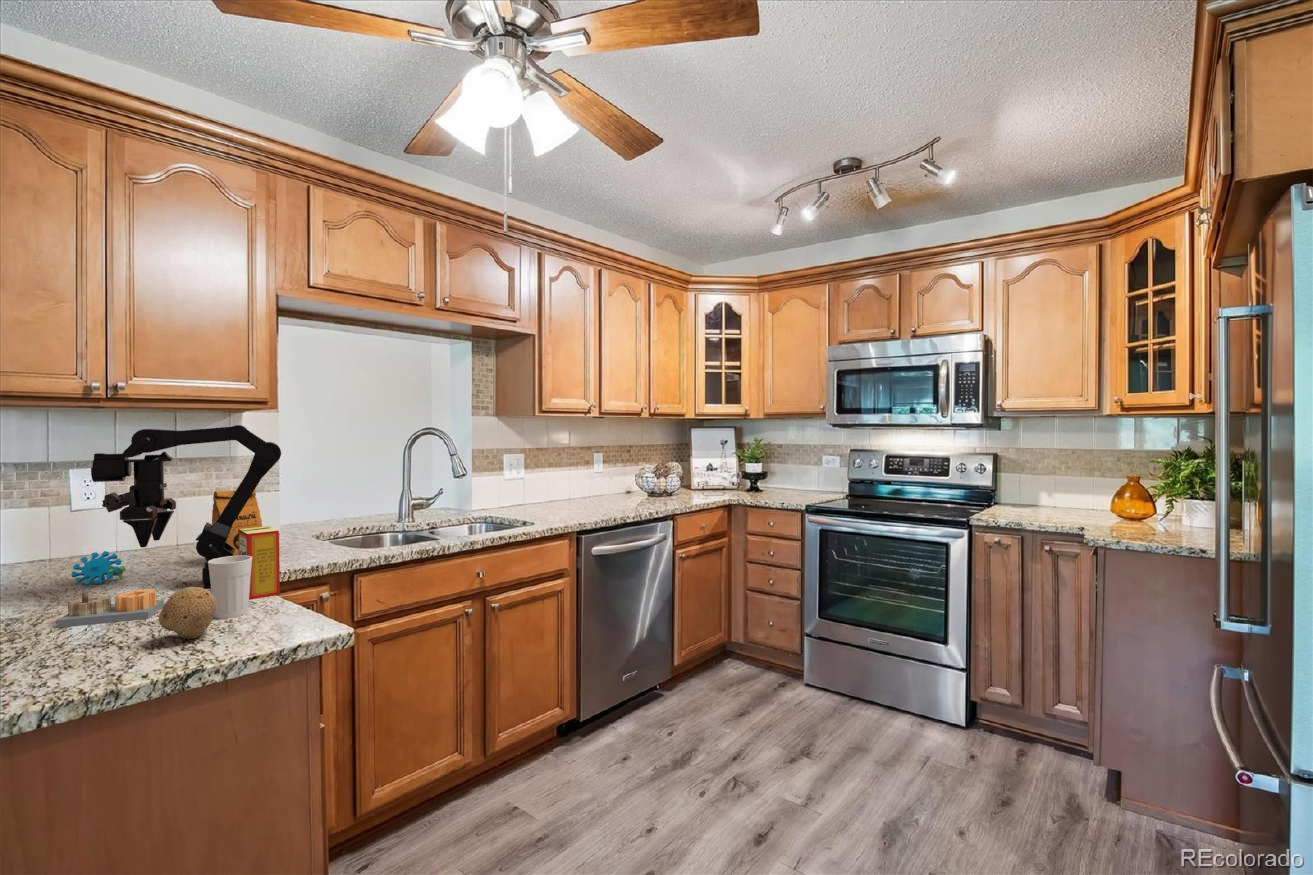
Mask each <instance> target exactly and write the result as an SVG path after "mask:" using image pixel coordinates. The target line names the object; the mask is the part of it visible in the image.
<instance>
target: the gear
mask: <svg viewBox="0 0 1313 875" xmlns="http://www.w3.org/2000/svg"><path fill="white" fill-rule="evenodd" d="M90 555H91V558H90V560H89V559H88V557H87V556H83V557H81V558H80V559H79V560H80V562H81V563H83V566H80V564H79V563H75V564H74V565H73V566H72V569H73V570H74V571H72V572H71V573H70V575H71V577H72V578H74V580H75V582H76V583H77V584H80V583H82V582H83V585H84V586H87V587H88V586H91V585H92V583H93V581H94V583H95V584H96V585H102V584H103V581H104V580H106V579H107V580H111V579H113V578H114V577H119V579H120V580H124V575H123V573H124V572H126V571H127V568H126V566H125V565H121V564H122V559H120V558H118V555H117V554H116V553H112V554H110V552H109V551H106V550H103V551H102V553H101V555H100V556H99V553H98V552H97V551H96V552H91V553H90ZM113 565H116V566H113ZM120 565H121V566H120ZM77 570H78V571H79V572H78V571H77ZM81 576H82V577H81Z"/></svg>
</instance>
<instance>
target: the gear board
mask: <svg viewBox="0 0 1313 875" xmlns="http://www.w3.org/2000/svg"><path fill="white" fill-rule="evenodd" d="M156 603H157V605H155V606H151V607H149V608H148V609H140V610H134V611H130V612H128V611H120V612H118V611H116V609H115V603H111V609H110V610H106V611H103V612H102V613H99V614H90V615H86V616H78V615H77V616H69V615H68V613H66V615H64V616H62V617H61V618H59V619H57V621H56V622H57V628H67V627H77V626H78V625H79V626H86V625H87V624H88V625H98V624H97V623H99V624H109V623H118V622H128V621H137V620H148V618H149V619H150V618H151V617H152V616H153V615H155V614H156V613H157V612H158V611H159V610H160V609H161V610H162V609H163V607H164V605H165V600H164V599H156ZM79 626H78V627H79Z"/></svg>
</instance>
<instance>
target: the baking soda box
mask: <svg viewBox="0 0 1313 875" xmlns="http://www.w3.org/2000/svg"><path fill="white" fill-rule="evenodd" d="M238 546H239V556H251V557H252V566H251V577H250V591H249V601H251V600H258V599H264V598H269V597H274V596H275V597H276V596H280V595H281V592H280V591H281V585H280V584H281V581H280V580H281V578H280V575H281V574H280V571H281V570H280V530H278V529H276V528H274V527H272V526H270V525H266V526H263V525H262V527H253V528H244V529H238Z"/></svg>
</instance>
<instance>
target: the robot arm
mask: <svg viewBox="0 0 1313 875" xmlns="http://www.w3.org/2000/svg"><path fill="white" fill-rule="evenodd" d="M130 441H131V442H130V443H131V444H130V445H129V446H128V447H127V448H126V449H124V451H123V452H122V453H104V452H99V453H97V452H95V453H94V454H93V460H92V466H91V467H90V476H91V480H92V482H93V483H99V482H100V483H107V482H125V480H126V478H127V477H128V478H130V477H132V471H133V484H132V485H130V486H129V490H128V491H127V492H124V493H122V494H117V493H116V492H111V493H109V494H105V495H104V496H103V497H104V498H103V500H101V501H102V504H101V506H102V507H103V508H105V509H106V511H107V512H108V513H111V512H115V511H118V510H120V511H119V520H120V521H122V522H123V523H124V524H126V525H128V526H130V527H132V529H133V531H134V534H135V537H136V539H137V542H138V544H139V547H140V548H146V547H148V544H149V542H150V539H151V537H152V539H153V541H154V542H156V541H160V539H161V537H162V535H163V533H164V532H165V530H166V527H167V525H168V523H169V521H170V520H171V519H172V518H171V517H172V516H173V514H174V512H175V510H176V509H177V501H176V500H175V499H173V498H172V497H171V498H169V497H168V498H165V488H167V482H165V478H164V477H165V476H164V474H165V473H164V472H165V471H164V470H165V469H164V466H165V465H164V462H171V461H174V458H173V457H172V456H171V455H169V454H168V453H167V451H162V450H166V449H170V448H175V447H179V446H185V445H194V444H195V445H196V444H205V443H217V442H228V441H236V442H238V443H240V444H241V445H243V447H245V448H246V449H248V450H249V451H250V452H252V453H254V454H253V458H252V460H251V462H250V465H249V468H248V470H247V472H246V474H245V476H244V477H243V479H242V480H241V482H240V483H239V485H238V486H237V488H236V490H234V491H235V493H234V494H233V496H232V498H231V499H230V501H229V502H228V504H227V506H226V507H225V509H224V510H223V512H222V513H221V515H220V517H219V518H218V519H217V520H216V521H215V522H214V523H213V524H212V523H211V522H206V523H205V524H204V525H203V529H202V532H200V533H199V534H198V535H197V537H196V539H195V541H196V542H197V543H196V545H195V551H196V552H197V554H198V555H199V556H200V557H203V558H204V559H205V560H206V561H205V562H204V567H202V570H201V571H202V572H201V573H202V574H201V575H202V576H201V577H202V578H201V579H202V580H201V581H202V582H201V583H202V585H203V586H202V588H204V589H207V588H208V589H209V588H210V589H211V582H210V574H209V566H208V561H210V560H212V559H216V558H221V557H228V556H233V555H234V552H235V548H233V547H232V546H230V545H229V544H228V543H226V540H227V538H228V535H229V533H230V530H231V527H232V525H233V523H234V522H235V520H236V519H237V517H238V515H239V514H240V512H241V511H242V509H243V507H244V506H245V504H246V503H247V501H248V499H249V498H250V496H251V495H252V493H253V491H254V490H255V488H256V489H257V486H258V485H259V484H260V482H261V480H262V479H263V478H264V476H266V474H267V473H268V472H270V470H271V469H272V468H273V467H274V466H275V464H277V462H278V461H280V458H281V456H282V449H281V447H280V446H279V445H278V444H276V443H275V442H272V441H265V440H263V439H262V438H260V436H257V435H256V434H254V433H253V432H252V431H250V430H248V429H247V427H246V426H245V425H242V424H235V425H233V426H222V427H221V426H220V427H213V428H212V427H211V428H210V427H209V428H198V429H186V430H177V429H175V430H174V429H163V428H162V429H159V428H144V429H139V430H137V431H136V432H135V433H133V434H132V436H131V440H130ZM159 451H162V452H161V453H160V454H150V453H153V452H159ZM144 453H146V454H145V455H144V458H139V459H138V458H137V459H136V458H135V457H138V456H141V455H142V454H144ZM147 453H148V454H147ZM129 458H130V459H129ZM132 458H135V459H132ZM132 463H133V470H132ZM122 508H123V509H122Z"/></svg>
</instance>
